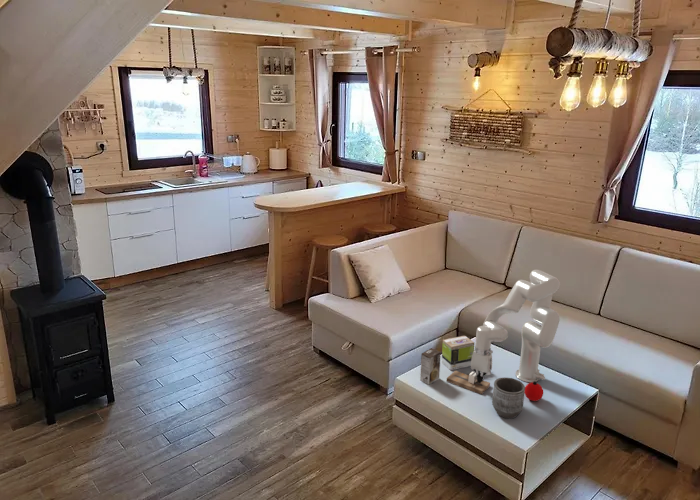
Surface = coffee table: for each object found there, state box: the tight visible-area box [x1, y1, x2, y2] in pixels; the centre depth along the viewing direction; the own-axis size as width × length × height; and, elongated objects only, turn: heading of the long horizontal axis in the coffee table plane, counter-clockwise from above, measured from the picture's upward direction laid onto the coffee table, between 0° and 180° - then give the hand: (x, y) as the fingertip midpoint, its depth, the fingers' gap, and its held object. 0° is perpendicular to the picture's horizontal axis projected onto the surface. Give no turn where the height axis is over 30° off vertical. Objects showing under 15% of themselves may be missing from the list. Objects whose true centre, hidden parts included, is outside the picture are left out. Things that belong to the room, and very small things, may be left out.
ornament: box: [524, 381, 544, 402], centre depth 260 cm, size 9×9×10 cm
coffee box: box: [419, 347, 442, 385], centre depth 276 cm, size 9×6×16 cm
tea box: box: [441, 335, 475, 371], centre depth 292 cm, size 15×10×15 cm
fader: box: [468, 370, 477, 384], centre depth 272 cm, size 3×4×5 cm
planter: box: [491, 377, 526, 419], centre depth 248 cm, size 14×14×15 cm
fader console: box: [446, 369, 491, 395], centre depth 274 cm, size 20×10×2 cm, turn 52°
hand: (479, 381), depth 270 cm, fingers closed
